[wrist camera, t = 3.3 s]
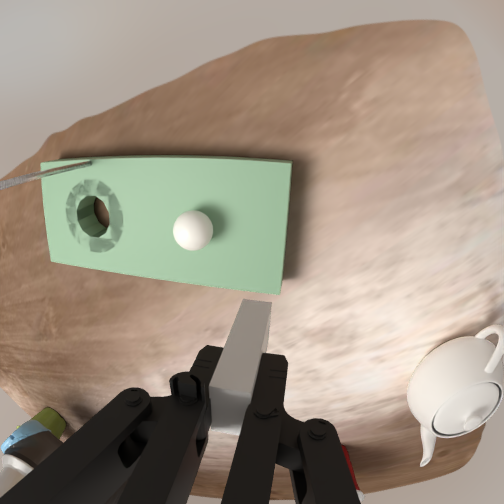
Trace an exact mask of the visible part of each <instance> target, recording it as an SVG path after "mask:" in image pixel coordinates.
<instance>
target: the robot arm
mask: <svg viewBox="0 0 504 504" xmlns="http://www.w3.org/2000/svg"><path fill="white" fill-rule="evenodd" d="M271 307H272V302H264V301H255V300H247V299H243V301H242V303H241V306H240V308H239V311H238V313H237V316H236V319H235V321H234V324H233V326H232V329H231V331H230V334H229V336H228V339H227V341H226V344H225V346H224V348H222V347H216V346H210V345H207V346H205V347H204V348H203V349H201V350H200V351H199V353H198V355H197V357H196V360H195V361H194V363H193V366H192V367H191V369H190V371H189V372H181V373H177V374H175V375H173V376H172V377H171V378H170V380H169V382H170V388H171V394H172V395H170V396H165V397H150V396H149V394H148V392H146V391H145V390H144V389H141V388H128V389H125V390H124V391H122V392H120V393H119V394H118V395H117V396H116V397H115V398H114V399H113V400H112V401H110V402H109V403H108V404H107V405H106V406H105V407H104V408H103V409H101V410H100V411H99V412H98V413H97V414H96V415H95V416H94V417H92V418H91V419H90V420H89V421H88V422H87V423H86V424H85V425H83V426H82V427H81V428H80V429H79V430H78V431H77V432H75V433H74V434H73V435H72V436H71V437H70V438H69V439H68V440H66V441H65V442H64V443H63V442H62V441H61V440H59V439H58V438H57V437H56V436H55V435H54V434H52V433H51V431H50V430H49V429H47V428H46V427H44V426H43V425H42V424H41V423H40V422H39V421H37V420H29V421H27V422H25V423H24V424H23V425H21V426H20V427H19V428H18V429H17V430H15V431H14V432H13V433H12V435H10V436H9V437H8V438H7V439H6V440H5V441H4V443H3V444H2V446H1V450H2V451H3V453H4V455H3V456H2V458H1V462H2V465H3V470H2V471H1V472H0V504H186V503H187V500H188V497H189V494H190V492H191V489H192V486H193V483H194V480H195V477H196V474H197V472H198V469H199V466H200V463H201V460H202V457H203V454H204V451H205V448H206V445H207V442H208V431H209V428H210V425H211V430H212V431H217V432H222V433H228V434H233V435H239V439H238V443H237V447H236V450H235V454H234V458H233V462H232V465H231V469H230V473H229V476H228V480H227V484H226V487H225V491H224V494H223V498H222V501H221V504H269V499H270V493H271V487H272V481H273V475H274V469H275V463H276V464H278V465H281V466H283V467H286V468H288V469H289V471H290V476H291V481H292V487H293V492H294V497H295V502H296V504H361V503H360V500H359V497H358V494H357V491H356V488H355V485H354V482H353V479H352V476H351V473H350V470H349V467H348V464H347V461H346V458H345V455H344V452H343V449H342V446H341V443H340V440H339V437H338V434H337V431H336V429H335V427H334V426H333V424H331V423H330V422H329V421H326V420H324V419H316V418H314V419H310V420H307V421H306V422H302V421H299V420H296V419H294V418H292V417H291V416H290V415H288V414H287V412H286V411H285V409H284V404H283V403H284V395H285V386H286V378H287V369H288V362H287V360H286V358H285V356H284V355H277V354H269V353H266V351H267V346H268V338H269V328H270V318H271Z"/></svg>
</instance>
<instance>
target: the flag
mask: <svg viewBox="0 0 504 504" xmlns="http://www.w3.org/2000/svg"><path fill="white" fill-rule="evenodd" d="M91 165H92V162H91V161H85V162H80V163H75V164H70V165H65V166H61V167H56V168H52V169H47V170H43V171H39V172H35V173H31V174H27V175H23V176H19V177H15V178H12V179H8V180H4V181H1V182H0V190H2V189H5V188H8V187H12V186H15V185H18V184H22V183H25V182H29V181H33V180H36V179H40V178H44V177H48V176H52V175H55V174H60V173H64V172H68V171H72V170H76V169H81V168H85V167H90V166H91Z"/></svg>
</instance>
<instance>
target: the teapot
mask: <svg viewBox="0 0 504 504" xmlns="http://www.w3.org/2000/svg"><path fill="white" fill-rule="evenodd" d="M493 333H496V334H498V336H499V341H498V344H497V347H495V345H494V344H493V343H492V342H490V341H489V340H487V339H485V338H486V337H487V336H489V335H490V334H493ZM503 354H504V326H502V325H491V326H488V327H486V328H484V329H483V330H481V331H480V332H479V333H478V334H477V335H475V336H465V337H459V338H456V339H453V340H450V341H448V342H446V343H444V344H442V345H440V346H439V347H437V348H436V349H434V350H433V351H432V352H430V353H429V354H428V355H427V356H426V357H425V358H424V359H423V360H422V361H421V362H420V363H419V365H418V366H417V368H416V369H415V371H414V372H413V374H412V376H411V378H410V381H409V384H408V388H407V402H408V405H409V408H410V410H411V412H412V414H413V415H414V416H415V418H416V419H417V420H418V421H419V422H420V423H421V439H422V443H423V458H422V461H421V463H420V467H422V466H425V465H426V464H427V463H428V462H429V461H430V459H431V457H432V455H433V451H434V446H435V441H436V437H437V436H438V437H441V438H452V437H457V436H461V435H464V434H467V433H469V432H471V431H473V430H475V429H476V428H478V427H479V426H481V425H482V424H483V423H485V422H486V421H487V420H488V419H489V418H490V417H491V416H492V415H493V414H494V413H495V411H496V410H497V408H498V407H499V405H500V403H501V401H502V399H503V395H504V368H503V362H502V359H501V358H502V356H503Z"/></svg>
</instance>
